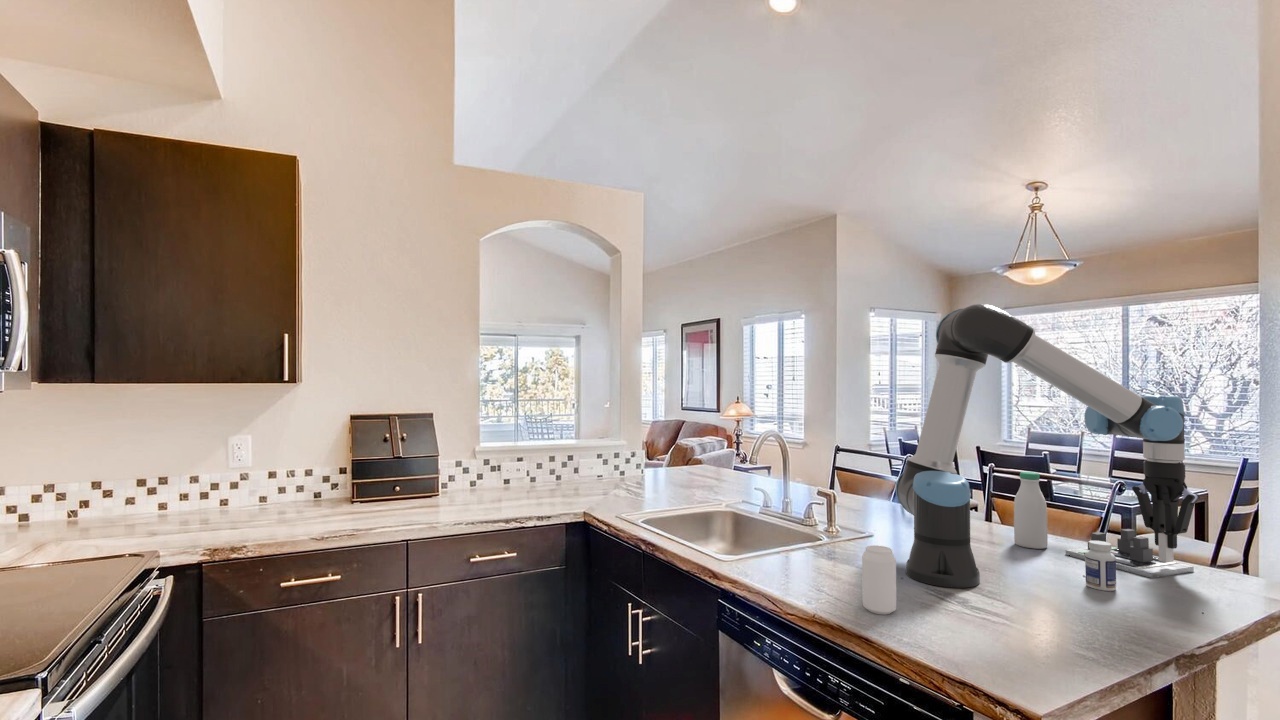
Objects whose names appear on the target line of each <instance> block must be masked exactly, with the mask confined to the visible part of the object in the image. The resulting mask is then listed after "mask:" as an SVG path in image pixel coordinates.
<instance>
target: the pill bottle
mask: <svg viewBox="0 0 1280 720" xmlns="http://www.w3.org/2000/svg"><path fill="white" fill-rule="evenodd" d="M1088 542H1089V548H1090V550H1088V551H1086V553H1085V560H1084V562H1085V565H1084V567H1085V585H1086V586H1087V587H1089V588H1091V589H1093V590H1094V589H1095V590H1098V591H1104V592H1105V591H1106V592H1112V591H1115V590H1116V589H1117V569H1116V558H1115V556H1114V555H1113V554H1112V553H1110V551H1111V550H1112V548H1111V547H1112V543H1110V542H1108V541H1106V542H1104V541H1091V540H1089V541H1088Z"/></svg>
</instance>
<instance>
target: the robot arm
mask: <svg viewBox="0 0 1280 720" xmlns="http://www.w3.org/2000/svg"><path fill="white" fill-rule="evenodd" d="M935 338H936V342H937V345H936V349H935V353H934V357H935V358H936V360H937V361H938V366H937V367H938V368H937V371H936V374H935V375H936V376H935V379H934V382H933V386H932V390H931V394H930V397H929V402H928V406H927V409H926V413H925V417H924V420H923V421H924V422H923V425H922V427H921V431H920V436H919V440H918V444H917V446H916V451H915V454H913V455H912V456H909V457H908V458H907V460H906V464H905V468H904V471H903V472H902V473H901V474H900V475H899V476H898V478H897V480H896V482H895V494H896V495H895V496H896V497H897V500H898V502H899V504H900V505H901V506H902V508H903V510H905V511H906V512H907V513H909V514H910V515H912V516H913V543H912V547H911V549H910V553H909V558H908V559H907V561H906V565H905V567H906V569H905V570H906V571H905V572H906V575H907V576H908V577H910V578H911V579H912V580H915V581H918V582H920V583H924V584H928V585H932V586H937V587H943V588H953V589H954V588H955V589H957V588H958V589H960V588H961V589H962V588H963V589H965V588H973V587H977V586H978V585H979V584H981V583H980V582H981V576H980V575H981V573H980V571H979V568H978V567H977V564H976V560H975V557H974V553H973V550H972V546H971V497H972V495H971V490H970V483H969V481H968V480H967V479H966V478H965V477H963V476H962V475H959V474H958V471H957V470H956V468H955V467H954V465H953V463H954V459H955V455H956V451H957V447H958V443H959V441H960V440H959V439H960V436H961V432H962V428H963V424H964V421H965V417H966V414H967V413H966V412H967V409H968V406H969V402H970V397H971V394H972V389H973V388H974V387H973V386H974V383H975V379H976V375H977V372H978V371H980V370H981V369H983V368H984V367H986V364H987V360H988V357H989V356H992V357H994V358H997V359H999V360H1001V362H1003V363H1005V364H1008V363H1014V364H1016V365H1017V366H1019V367H1021V368H1022V369H1024V370H1026V371H1027V372H1029V373H1031V374H1033V375H1034V376H1036V377H1037V378H1039V379H1041V380H1043V381H1044V382H1046V383H1048V384H1050V386H1051V385H1052V386H1053V387H1055V388H1056V389H1058V390H1060V391H1062V392H1063V393H1065V394H1066V395H1069V396H1070V397H1072V398H1073V399H1075V400H1077V401H1078V402H1080V403H1082V404H1084V405H1086V406H1087V407H1086V408H1085V411H1084V423H1085V427H1086V429H1087V430H1088V431H1089V432H1090V433H1092V434H1093V435H1103V436H1107V435H1110V436H1113V435H1114V436H1123V437H1128V438H1129V437H1130V438H1136V439H1142V449H1143V450H1142V453H1143V455H1142V457H1143V458H1144V461H1143V475H1144V479H1143V480H1142V483H1141V484H1139V485H1135V486H1132V488H1131V489H1132V491H1133V492H1134V494H1135V495H1136V498H1137V502H1138V506H1139V509H1140V513H1141V515H1142V516H1141V517H1142V519H1143V523H1144V526H1145V528H1147V529H1148V528H1149V529H1150V530H1152V531H1153V532H1154V544H1155V546H1158V558H1159V561H1162V562H1175V561H1174V550H1175V549H1177V547H1178V535H1179V534H1186V533H1187V532H1188V530H1189V525H1190V522H1191V519H1192V515H1193V511H1194V508H1195V505H1196V503H1197V502H1198V501H1199V499H1200V495H1199V494H1198V493H1193V492H1192V491H1190V490H1189V489H1188V486H1187V484H1186V481H1185V479H1186V464H1185V463H1184V462H1183V461H1185V460H1186V458H1185V457H1186V456H1185V455H1186V454H1185V453H1186V451H1185V449H1186V448H1185V447H1186V446H1185V417H1186V416H1185V409H1184V401H1183V399H1182V397H1180V396H1177V395H1144V396H1141V395H1139V394H1138V393H1135V392H1134V391H1133V390H1130V389H1129V388H1127V387H1125V386H1124V385H1122V384H1121V383H1119V382H1117V381H1115V380H1113V379H1111V378H1110V377H1109V376H1106V375H1105V374H1103V373H1101V372H1100V371H1098V370H1096V369H1095V368H1093V367H1091V366H1089V365H1088V364H1086V363H1084V362H1082V361H1081V360H1080V359H1078V358H1076V357H1074V356H1072V355H1070V354H1069V353H1067V352H1066V351H1064V350H1062V349H1060V348H1058V347H1057V346H1056V345H1054V344H1052V343H1050V342H1048V341H1047V340H1045V339H1043V338H1042V337H1040V336H1038V335H1037V334H1036V330H1035V328H1034V327H1032V326H1031V325H1029V324H1027V323H1026V322H1024V321H1023V320H1021V319H1019V318H1018V317H1015V316H1014V315H1012V314H1010V313H1008V312H1007V311H1005V310H1003V309H1001V308H998V307H996V306H994V305H990V304H985V303H975V304H972V305H969V306H966V307H964V308H958V309H955V310H953V311H951V312H949V313H947V314H946V315H945V316H944V317H943V318H942V319H941V320H940V321H939V323H938V325H937V327H936V330H935ZM1149 494H1150V495H1149ZM1180 498H1182V502H1181V504H1180V501H1179V500H1180ZM1178 505H1180V508H1178ZM1178 509H1179V511H1178Z"/></svg>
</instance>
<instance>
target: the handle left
mask: <svg viewBox="0 0 1280 720" xmlns="http://www.w3.org/2000/svg"><path fill="white" fill-rule="evenodd" d="M1090 541H1104V542H1107V533H1104V532H1100V531H1098V532H1091V533H1090ZM1087 547H1088V550H1090V548H1089V541H1087Z"/></svg>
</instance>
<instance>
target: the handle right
mask: <svg viewBox="0 0 1280 720" xmlns="http://www.w3.org/2000/svg"><path fill="white" fill-rule="evenodd" d="M1133 537H1137V536H1136V529H1132V528H1121V529H1120V537H1119V538H1116V540H1117V544H1116V545H1117V548H1118V549H1119V551H1123V552H1127V553H1130V548H1129V547H1130V546H1133Z"/></svg>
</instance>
